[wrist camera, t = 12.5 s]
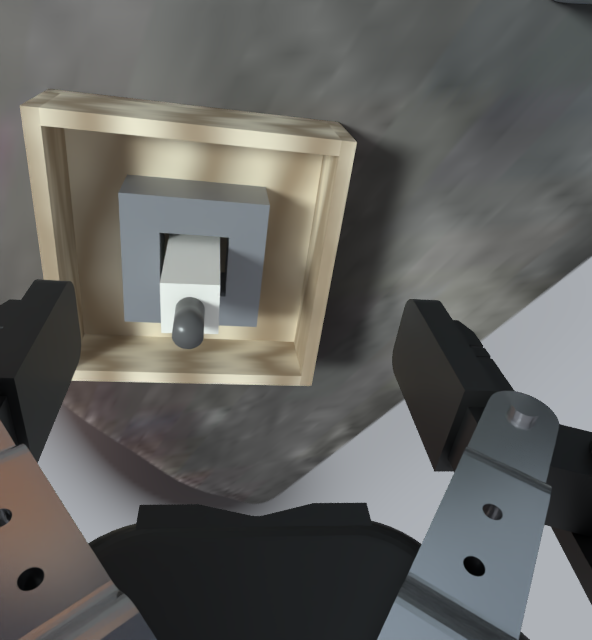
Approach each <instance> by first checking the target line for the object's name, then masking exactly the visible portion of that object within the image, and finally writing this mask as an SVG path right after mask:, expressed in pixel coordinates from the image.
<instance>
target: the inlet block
mask: <svg viewBox="0 0 592 640" xmlns="http://www.w3.org/2000/svg"><path fill="white" fill-rule="evenodd" d="M118 198H119V218H120V239H121V259H122V279H123V300H124V320H125V322H148V323H161V307H160V279H161V274H162V269H163V264H164V259H165V233H172V234H186V235H200V236H214V237H227V248H226V263H225V272H220V305H219V325H220V326H243V327H257V319H258V310H259V301H260V292H261V282H262V273H263V264H264V255H265V246H266V236H267V227H268V218H269V209H270V204H269V200H268V195H267V191H266V187H261V186H250V185H239V184H228V183H217V182H206V181H195V180H184V179H172V178H161V177H150V176H139V175H128V174H127V176H126V178H125V180H124V182H123V184H122V186H121V188H120V190H119V192H118Z"/></svg>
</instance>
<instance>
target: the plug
mask: <svg viewBox="0 0 592 640" xmlns="http://www.w3.org/2000/svg"><path fill="white" fill-rule="evenodd" d="M219 305H220V237H214V236H200V235H186V234H172V233H170V235H169V239H168V244H167V249H166V254H165V259H164V264H163V269H162V274H161V279H160V307H161V333H172V340H173V342H174V343H175V344H176V345H177V346H178V347H180V348H183V349H193V348H196V347H198V346H199V345H200V344H201V343H202V341H203V338H204V334H218V332H219Z"/></svg>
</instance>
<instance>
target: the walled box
mask: <svg viewBox="0 0 592 640" xmlns="http://www.w3.org/2000/svg"><path fill="white" fill-rule="evenodd" d="M20 110H21V118H22V125H23V132H24V139H25V147H26V154H27V161H28V168H29V175H30V183H31V190H32V197H33V204H34V212H35V219H36V226H37V233H38V241H39V248H40V255H41V262H42V269H43V277H44V280H59V281H71V282H72V283H73V285H74V288H75V295H76V302H77V310H78V318H79V326H80V333H81V354H80V359H79V363H78V366H77V368H76V371H75V373H74V375H73V378H72V380H71V381H114V382H159V383H203V384H247V385H291V386H311V385H312V380H313V374H314V369H315V364H316V358H317V353H318V348H319V342H320V337H321V332H322V326H323V321H324V316H325V310H326V305H327V300H328V294H329V289H330V284H331V278H332V273H333V268H334V262H335V257H336V252H337V246H338V241H339V236H340V230H341V225H342V220H343V214H344V209H345V204H346V198H347V193H348V188H349V182H350V177H351V172H352V166H353V161H354V156H355V150H356V145H357V142H356V141H355V139H354V138H353V137H352V136H351V135H350V134H349V133H348V132H347V131H346V130H345V128H344V127H343V126H342V125H341V124H340V123H339V122H333V121H324V120H315V119H307V118H298V117H289V116H281V115H272V114H263V113H255V112H246V111H237V110H229V109H220V108H211V107H202V106H194V105H185V104H176V103H168V102H159V101H150V100H142V99H133V98H124V97H115V96H107V95H98V94H89V93H81V92H72V91H63V90H55V89H48V90H46V91H44V92H42V93H41V94H39V95H37V96H35V97H34V98H32V99H30V100H29V101H27V102H25V103H23V104H22V105H20ZM127 174H128V175H139V176H150V177H161V178H172V179H184V180H195V181H206V182H217V183H228V184H239V185H250V186H261V187H266V191H267V195H268V200H269V204H270V209H269V218H268V227H267V236H266V246H265V255H264V264H263V273H262V282H261V292H260V301H259V310H258V319H257V327H243V326H220V325H219V332H218V334H204V338H203V341H202V343H201V344H200V345H199V346H198V347H196V348H193V349H183V348H180V347H178V346H177V345H176V344H175V343H174V342H173V340H172V333H161V323H148V322H125V320H124V300H123V279H122V259H121V239H120V218H119V198H118V192H119V190H120V188H121V186H122V184H123V182H124V180H125V178H126V176H127ZM169 235H170V233H165V254H166V249H167V244H168V239H169ZM226 248H227V237H220V272H225V263H226Z"/></svg>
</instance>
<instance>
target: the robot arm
mask: <svg viewBox="0 0 592 640" xmlns="http://www.w3.org/2000/svg"><path fill="white" fill-rule="evenodd" d="M554 1H557V2H563V3H576V4H592V0H554ZM80 354H81V333H80V326H79V318H78V310H77V302H76V295H75V288H74V285H73V283H72V282H71V281H59V280H40V279H37V280H35V281H34V282H33V283H32V285H31V286H30V288H29V289H28V291H27V292H26V294H25V295H24V297H23V298H22V299H21V300H8V301H7V302H5V303H3V304H2V305H0V640H530V639H528V638H527V637H526V636H525V635H524V634H523V633H522V632H521V626H522V622H523V618H524V613H525V608H526V604H527V600H528V595H529V591H530V586H531V582H532V577H533V572H534V568H535V564H536V559H537V555H538V550H539V546H540V541H541V537H542V532H543V528H544V525H548V526H551V527H552V530H553V531H554V533H555V535H556V537H557V539H558V541H559V543H560V545H561V547H562V549H563V551H564V553H565V555H566V556H567V558H568V560H569V562H570V564H571V566H572V568H573V570H574V572H575V574H576V576H577V578H578V579H579V581H580V583H581V585H582V587H583V589H584V591H585V593H586V595H587V597H588V598H589V601H590V603H591V604H592V432H589V431H584V430H580V429H576V428H572V427H568V426H564V425H560V424H559V421H558V419H557V417H556V415H555V414H554V412H553V411H552V410H551V409H550V408H549V407H548V406H546V405H545V404H544V403H542V402H541V401H539V400H538V399H536V398H534V397H532V396H530V395H527V394H524V393H520V392H516V391H514V390H513V388H512V387H511V385H510V384H509V382H508V381H507V380H506V378H505V377H504V375H503V374H502V373H501V371H500V369H499V368H498V367H497V365H496V364H495V362H494V361H493V359H490V355H489V353H488V352H487V351H486V349H485V348H483V345H482V343H481V342H480V340H479V339H478V338H477V336H476V335H475V333H474V332H473V331H471V330H470V329H469V328H467V327H466V326H465V325H464V324H462V323H461V322H460V321H458V320H452V318H451V317H450V315H449V314H448V312H447V311H446V309H445V308H444V306H443V305H442V303H441V302H440V301H438V300H419V299H409V300H408V301H407V303H406V305H405V307H404V311H403V315H402V319H401V322H400V326H399V330H398V334H397V337H396V341H395V345H394V349H393V356H392V365H393V371H394V374H395V377H396V379H397V382H398V384H399V387H400V389H401V391H402V394H403V396H404V399H405V401H406V403H407V406H408V408H409V411H410V413H411V416H412V418H413V420H414V423H415V425H416V428H417V430H418V433H419V435H420V437H421V440H422V442H423V445H424V447H425V450H426V452H427V454H428V457H429V459H430V461H431V464H432V467H433V469H434V471H454V475H453V477H452V479H451V481H450V484H449V486H448V488H447V490H446V492H445V494H444V497H443V499H442V501H441V503H440V505H439V508H438V510H437V512H436V514H435V516H434V518H433V521H432V523H431V525H430V528H429V530H428V532H427V534H426V536H425V538H424V541H423V543H422V544H421V543H419V542H418V541H416V540H415V539H413V538H412V537H410V536H408V535H406V534H404V533H403V532H401V531H399V530H396V529H394V528H392V527H390V526H387V525H384V524H381V523H378V522H374V521H371V519H370V515H369V511H368V508H367V503H312V504H308V505H304V506H301V507H296V508H293V509H288V510H284V511H280V512H276V513H272V514H268V515H264V516H250V515H245V514H240V513H236V512H231V511H227V510H222V509H217V508H213V507H208V506H203V505H199V504H194V505H192V504H191V505H190V504H187V505H140V507H139V512H138V518H137V523H136V524H133V525H129V526H125V527H122V528H120V529H117V530H114V531H111V532H110V533H107V534H105V535H103V536H101V537H99V538H97V539H95V540H93V541H92V542H90V543H88V542H87V541H86V539H85V538H84V536H83V535H82V533H81V531H80V530H79V529H78V527H77V525H76V523H75V522H74V520H73V519H72V517H71V516H70V514H69V512H68V511H67V509H66V508H65V507H64V504H63V503H62V501H61V500H60V498H59V497H58V495H57V494H56V492H55V490H54V489H53V487H52V486H51V484H50V482H49V481H48V479H47V478H46V476H45V474H44V473H43V471H42V470H41V468H40V467H39V465H38V461H39V458H40V456H41V453H42V451H43V448H44V446H45V444H46V441H47V439H48V436H49V434H50V431H51V429H52V426H53V424H54V422H55V419H56V417H57V414H58V412H59V409H60V407H61V405H62V402H63V400H64V397H65V395H66V392H67V390H68V388H69V385H70V383H71V380H72V378H73V375H74V373H75V371H76V368H77V366H78V363H79V359H80Z"/></svg>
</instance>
